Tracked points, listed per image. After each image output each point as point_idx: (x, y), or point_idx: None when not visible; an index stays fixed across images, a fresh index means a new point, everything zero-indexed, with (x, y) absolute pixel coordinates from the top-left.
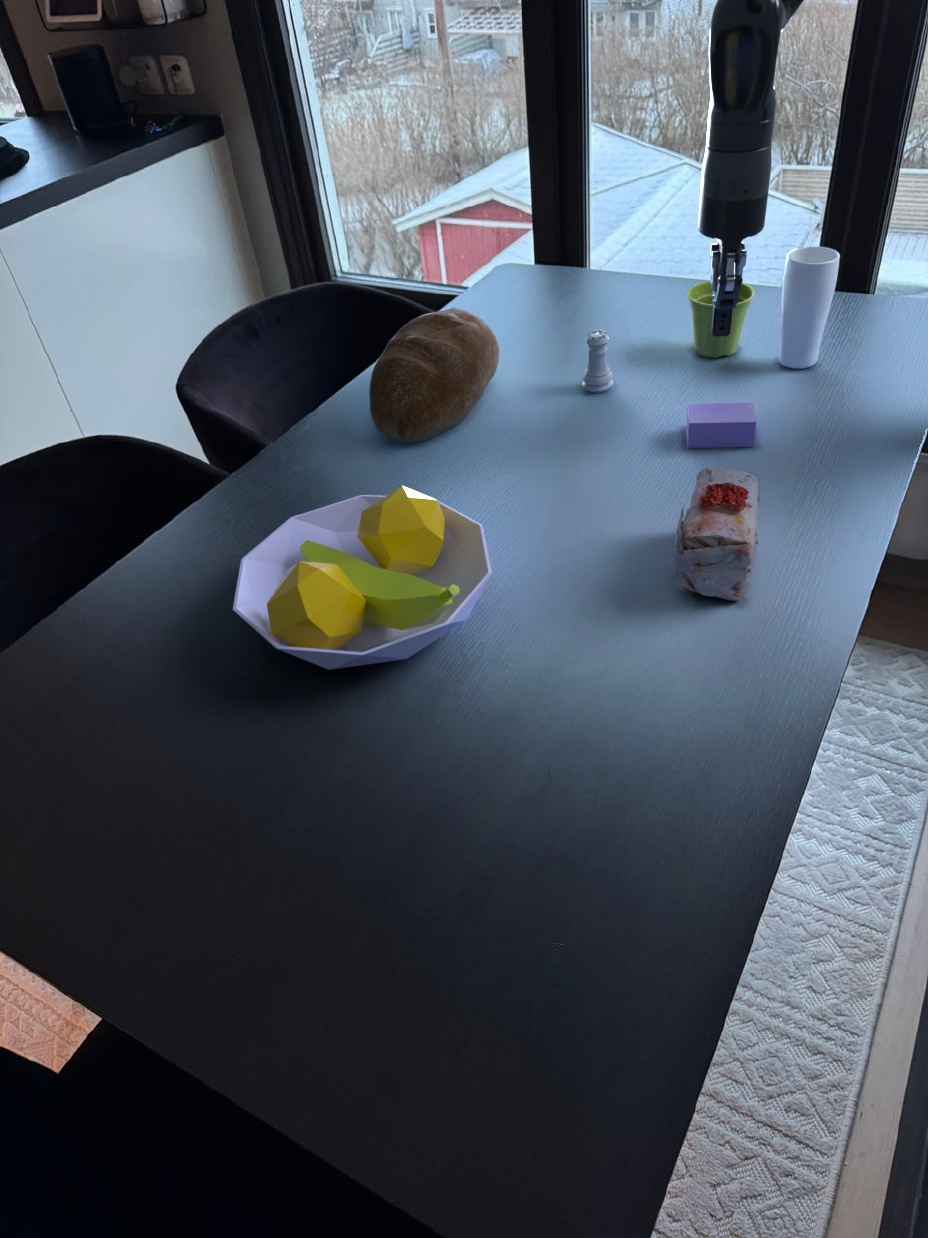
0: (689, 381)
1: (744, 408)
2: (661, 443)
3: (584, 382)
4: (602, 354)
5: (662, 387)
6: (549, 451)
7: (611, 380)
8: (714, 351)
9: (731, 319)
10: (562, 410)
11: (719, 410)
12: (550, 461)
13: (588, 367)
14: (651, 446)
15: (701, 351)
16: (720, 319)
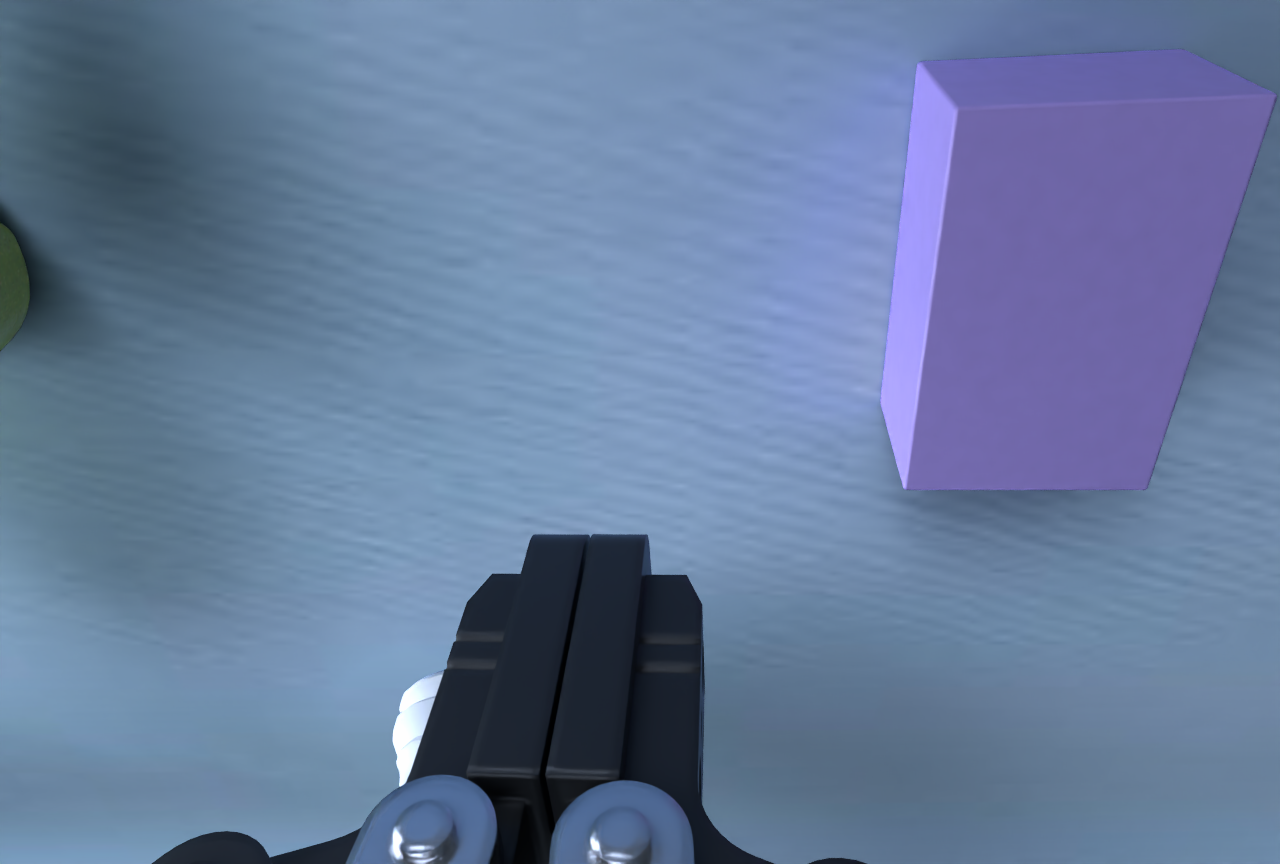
0: (348, 380)
1: (1035, 172)
2: (1012, 503)
3: None
4: None
5: (437, 494)
6: (989, 817)
7: (438, 683)
8: (2, 272)
9: (631, 646)
10: None
11: (1031, 332)
12: (1064, 814)
13: None
14: (1031, 539)
15: (12, 335)
16: (701, 759)
